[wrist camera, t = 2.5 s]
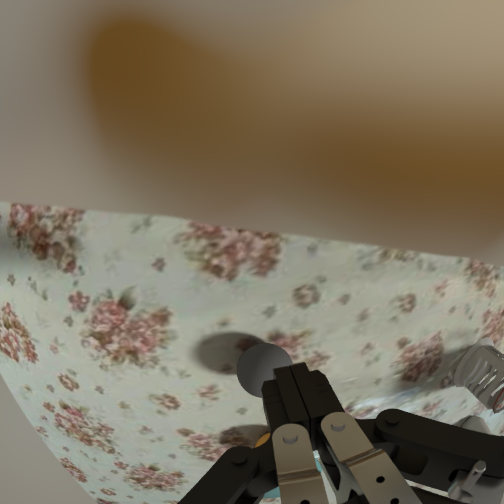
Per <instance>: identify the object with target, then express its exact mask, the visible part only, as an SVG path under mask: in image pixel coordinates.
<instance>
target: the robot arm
mask: <svg viewBox="0 0 504 504" xmlns="http://www.w3.org/2000/svg"><path fill="white" fill-rule="evenodd" d="M261 393H262V399H263V406H264V412H265V416H266V420H267V424H268V428H269V432H270V436H269V438H268V440H267V441H266V442H265V443H263V444H262V445H260V446H258V447H256V448H253V449H251V448H249V447H245V446H237V447H233V448H230V449H228V450H227V451H226V452H225V453H224V454H223V455H222V456H221V457H220V458H219V459H218V461H217V462H216V463H215V464H214V465H213V466H212V467H211V468H210V470H209V471H208V472H207V473H206V474H205V475H204V476H203V477H202V478H201V479H200V480H199V482H198V483H197V484H196V485H195V486H194V487H193V488H192V489H191V490H190V491H189V492H188V493H187V494H186V495H185V496H184V497H183V498H182V499H181V500H180V501H179V502H178V503H177V504H259V502H260V501H261V499H262V498H263V497H264V495H265V493H267V492H269V491H271V490H273V489H275V488H277V487H279V490H280V497H281V504H329V502H328V498H327V494H326V491H325V487H324V483H323V479H322V475H321V473H320V471H318V469H317V466H316V462H315V458H314V454H313V451H315V450H318V453H319V455H320V459H319V462H320V465H321V467H322V469H323V471H324V473H325V475H326V477H327V479H328V481H329V483H330V485H331V487H332V489H333V491H334V493H335V496H336V501H337V504H500V503H501V500H502V497H503V494H504V437H501V436H496V435H491V434H487V433H482V432H478V431H474V430H469V429H465V428H461V427H457V426H454V425H450V424H446V423H442V422H439V421H435V420H432V419H428V418H425V417H422V416H418V415H415V414H412V413H408V412H405V411H402V410H399V409H387V410H384V411H382V412H380V413H379V414H378V416H377V417H376V419H355V418H353V417H352V416H351V415H349V414H347V413H345V411H344V409H343V408H342V406H341V404H340V402H339V400H338V398H337V396H336V394H335V393H334V391H333V389H332V387H331V385H330V384H329V381H328V379H327V378H326V376H325V375H324V374H323V373H321V372H320V371H319V370H314V371H310V372H309V370H308V368H307V366H306V363H305V362H302V363H297V364H293V365H289V366H283V367H278V368H273V380H268V381H264V382H263V385H262V388H261ZM405 479H407V480H410V481H413V482H416V483H419V484H422V485H425V486H428V487H432V488H435V489H438V490H442V491H445V492H448V496H449V498H448V497H445V496H441V495H438V494H435V493H432V492H429V491H426V490H424V489H421V488H418V487H414V486H409V484H408V483H407V482H406V480H405Z"/></svg>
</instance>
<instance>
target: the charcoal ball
mask: <svg viewBox="0 0 504 504" xmlns="http://www.w3.org/2000/svg"><path fill="white" fill-rule="evenodd" d="M289 365H293V363H292V360H291V358H290V356H289V355H288V353H287V352H286V351H285V350H284V349H282V348H281V347H279V346H277V345H274V344H270V343H261V344H257V345H254V346H252V347H250V348H248V349H247V350H246V351H245V352H244V353H243V354H242V356H241V357H240V359H239V362H238V365H237V377H238V380H239V382H240V384H241V386H242V387H243V388H244V389H245V390H246V391H247V392H248V393H250V394H251V395H253V396H256V397H260V398H262V393H261V388H262V385H263V382H264V381H268V380H273V368H278V367H283V366H289Z"/></svg>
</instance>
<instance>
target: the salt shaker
mask: <svg viewBox="0 0 504 504" xmlns="http://www.w3.org/2000/svg"><path fill="white" fill-rule="evenodd" d="M461 428H465V429H469V430H474V431H478V432H482V433H487V434H491V435H493V434H492V432H491V431H490V429H489V427H488V425H487V424H486V422H485V420H484V419H483V418H480V417H477V416H471V417H470V418H469V419H467V420H466V421H465V422H464V424H463V425H462V427H461Z"/></svg>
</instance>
